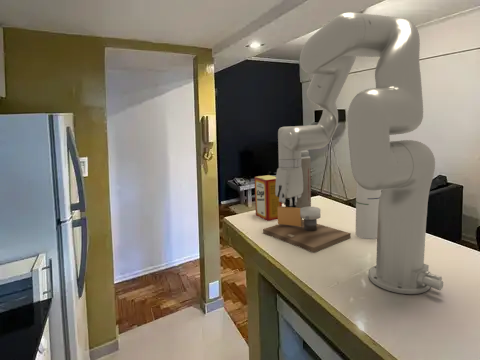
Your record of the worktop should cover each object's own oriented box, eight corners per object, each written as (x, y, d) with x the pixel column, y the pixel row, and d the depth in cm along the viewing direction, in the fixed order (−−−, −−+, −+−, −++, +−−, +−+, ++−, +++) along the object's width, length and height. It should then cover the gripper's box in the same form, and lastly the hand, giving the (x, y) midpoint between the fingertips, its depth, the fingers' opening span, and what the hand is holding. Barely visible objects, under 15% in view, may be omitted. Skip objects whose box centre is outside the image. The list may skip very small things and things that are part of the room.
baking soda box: (255, 215, 129) (254, 175, 126) (269, 212, 132) (268, 174, 129) (267, 221, 120) (266, 179, 118) (282, 218, 123) (281, 177, 120)
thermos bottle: (313, 210, 132) (313, 141, 127) (307, 215, 125) (306, 143, 120) (295, 208, 136) (294, 142, 131) (288, 213, 130) (286, 143, 125)
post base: (350, 237, 100) (350, 220, 99) (314, 252, 90) (313, 234, 89) (298, 222, 117) (298, 207, 116) (263, 233, 108) (262, 217, 107)
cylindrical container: (382, 239, 98) (384, 157, 93) (357, 238, 99) (359, 158, 94) (376, 231, 104) (379, 154, 100) (353, 230, 106) (355, 155, 101)
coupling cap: (323, 223, 107) (323, 206, 106) (316, 231, 100) (316, 213, 99) (282, 219, 113) (282, 203, 112) (274, 226, 106) (273, 209, 105)
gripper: (294, 160, 115) (295, 209, 119) (266, 165, 105) (268, 219, 109) (312, 161, 110) (312, 213, 113) (284, 167, 100) (285, 223, 103)
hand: (290, 215), depth 111 cm, fingers closed
